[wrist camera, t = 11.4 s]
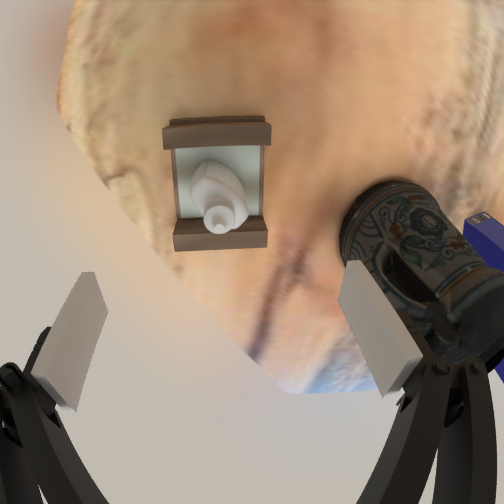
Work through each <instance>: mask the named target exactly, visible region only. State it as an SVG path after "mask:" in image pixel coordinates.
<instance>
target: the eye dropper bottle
mask: <svg viewBox="0 0 504 504" xmlns="http://www.w3.org/2000/svg"><path fill="white" fill-rule="evenodd" d="M189 195H190V198H191V200H192V202H193V204H194V205H195V207H196V208H197V209H198V211H199V212H200V213H201V214H202V215H203V216H204V218H203V219H204V220H203V221H204V224H205V227H206V228H207V229H208V230H209V231H211V232H212V233H215V234H222V233H226V232H228V231H229V230H230V229H236V228H238V227H239V226H240V225H241V224H242V223H243V222H244V221H245V220H246V219H247V217H248V215H249V211H248V206H247V201H246V197H245V193H244V189H243V186H242V184H241V182H240V181H239V179H238V178H237V176H236V175H235V174H234V173H233V172H232V171H231V170H230V169H229V168H227V167H226V166H224V165H223V164H221V163H219V162H217V161H214V160H210V159H206V160H204V161H203V162H202V163H201V164H200V166H199V167H198V168H197V169H196V171H195V173H194V176H193V179H192V182H191V186H190V189H189Z"/></svg>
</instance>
